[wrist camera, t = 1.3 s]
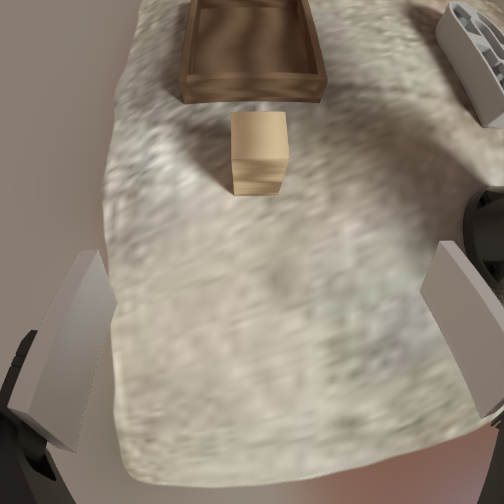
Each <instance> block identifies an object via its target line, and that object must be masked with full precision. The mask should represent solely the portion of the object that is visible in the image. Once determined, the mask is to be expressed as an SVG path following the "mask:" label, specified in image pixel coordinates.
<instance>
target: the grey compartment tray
mask: <svg viewBox="0 0 504 504" xmlns="http://www.w3.org/2000/svg"><path fill="white" fill-rule="evenodd" d="M435 37H436V40H437V42H438V44H439V46H440V47H441V49H442V50H443V52H444V54H445V55H446V57H447V59H448V60H449V62H450V64H451V65H452V67H453V69H454V71H455V72H456V74H457V76H458V78H459V80H460V81H461V83H462V85H463V87H464V89H465V91H466V93H467V95H468V97H469V99H470V101H471V103H472V105H473V107H474V109H475V111H476V113H477V116H478V118H479V120H480V122H481V124H482V127H483V128H491V129H503V128H504V34H503V33H502V31H501V30H500V29H499V28H498V27H497V26H496V25H495V24H494V23H493V22H492V21H491V20H490V19H488V18H487V17H486V16H485V15H483V14H482V13H481V12H479V11H478V10H476V9H475V8H473V7H471V6H469V5H467V4H465V3H463V2H459V1H451V2H450V3H449V4H448V6H447V8H446V10H445V12H444V14H443V15H442V17H441V19H440V20H439V22H438V23H437V25H436V29H435ZM499 81H501V83H502V85H503V86H501V84H500V83H499Z"/></svg>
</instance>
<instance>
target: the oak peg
mask: <svg viewBox="0 0 504 504" xmlns="http://www.w3.org/2000/svg"><path fill="white" fill-rule="evenodd" d="M231 161H232V173H233V185H234V196H267V195H278V193H279V190H280V187H281V184H282V181H283V177H284V174H285V171H286V168H287V165H288V162H289V147H288V136H287V125H286V114H285V112H271V111H253V112H231Z"/></svg>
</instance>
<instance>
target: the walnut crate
mask: <svg viewBox="0 0 504 504" xmlns="http://www.w3.org/2000/svg"><path fill="white" fill-rule="evenodd" d="M326 84H327V76H326V71H325V67H324V62H323V58H322V53H321V49H320V45H319V41H318V37H317V33H316V29H315V25H314V21H313V18H312V14H311V10H310V7H309V3H308V0H191V5H190V10H189V15H188V21H187V27H186V33H185V39H184V46H183V52H182V59H181V67H180V74H179V85H180V89H181V92H182V96H183V99H184V103H185V104H194V103H210V102H233V101H289V102H312V103H320V100H321V97H322V95H323V92H324V89H325V87H326Z"/></svg>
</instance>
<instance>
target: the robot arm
mask: <svg viewBox="0 0 504 504" xmlns="http://www.w3.org/2000/svg"><path fill="white" fill-rule="evenodd" d="M463 233H464V242H465V247H466V251H467V255H468V258H469V260H470V261H469V260H468V258H467V257H466V256H465V255H464V253H463V252H462V251H461V250H460V249H459V247H458V246H457V245H456V244H455V243H454V241H439V243H438V246H437V249H436V252H435V254H434V257H433V260H432V262H431V265H430V267H429V270H428V272H427V275H426V277H425V280H424V282H423V285H422V287H421V289H420V293H421V295H422V297H423V299H424V300H425V302H426V304H427V306H428V307H429V309H430V311H431V313H432V315H433V317H434V318H435V320H436V322H437V324H438V326H439V328H440V330H441V332H442V334H443V336H444V337H445V339H446V341H447V343H448V345H449V347H450V349H451V351H452V353H453V356H454V358H455V360H456V362H457V364H458V366H459V368H460V370H461V372H462V375H463V377H464V379H465V381H466V384H467V386H468V388H469V390H470V393H471V395H472V397H473V400H474V402H475V405H476V407H477V410H478V412H479V415H480V417H481V419H482V418H484V417H486V416H489V415H491V414H493V413H495V412H496V411H497V410H498V409H500V408H501V407H502V406H503V405H504V307H503V306H502V304H501V303H500V302H499V300H498V299H497V297H496V296H495V294H494V293H493V292H492V290H491V289H490V287H492V288H495V289H504V186H492V187H488V188H485V189H483V190H482V191H480V192H478V193H476V194H475V195H474V196H473V197H472V198H471V199H470V201H469V203H468V205H467V208H466V211H465V215H464V223H463ZM116 306H117V301H116V298H115V295H114V293H113V290H112V287H111V285H110V282H109V279H108V276H107V274H106V271H105V267H104V265H103V262H102V259H101V255H100V252H99V250H98V249H94V250H81V251H80V253H79V255H78V256H77V258H76V260H75V261H74V263H73V265H72V267H71V268H70V270H69V272H68V274H67V275H66V277H65V279H64V281H63V283H62V284H61V286H60V288H59V290H58V292H57V294H56V296H55V298H54V299H53V301H52V303H51V305H50V307H49V309H48V311H47V313H46V315H45V317H44V319H43V321H42V323H41V326H40V328H39V330H38V331H37V330H31V331H30V332H29V333H28V334H27V335H26V336H25V338H24V339H23V340H22V341H21V343H20V345H19V348H18V350H17V352H16V357H14V359H13V361H12V363H11V365H12V366H11V367H10V368H9V370H8V373H7V375H6V378H5V380H4V383H3V385H2V388H1V390H0V504H76V503H75V501H74V499H73V498H72V496H71V494H70V492H69V490H68V489H67V487H66V485H65V483H64V481H63V479H62V477H61V475H60V473H59V471H58V469H57V467H56V465H55V463H54V461H53V459H52V457H51V454H50V452H49V451H48V450H47V449H46V444H47V441H48V442H49V443H51V444H52V445H53V446H55V447H57V448H59V449H63V450H67V451H71V452H75V453H76V451H77V446H78V441H79V436H80V431H81V427H82V423H83V418H84V414H85V410H86V405H87V402H88V398H89V394H90V390H91V387H92V383H93V379H94V376H95V372H96V369H97V365H98V362H99V358H100V355H101V351H102V348H103V345H104V342H105V339H106V336H107V333H108V330H109V327H110V324H111V321H112V318H113V315H114V312H115V309H116ZM500 420H501V422H500V423H499V424H498V425H497V426H496V428H498V429H499V432H498V436H497V441H496V445H495V449H494V452H493V456H492V460H491V463H490V467H489V470H488V474H487V477H486V480H485V483H484V486H483V489H482V492H481V494H480V497H479V500H478V502H477V504H504V411H503V412H502V413H501V414H499V415H498V416H497V417H496V418H495V419H494V420H493V421H492V423H491V426H494V425H495V424H496V423H497V422H498V421H500Z"/></svg>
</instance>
